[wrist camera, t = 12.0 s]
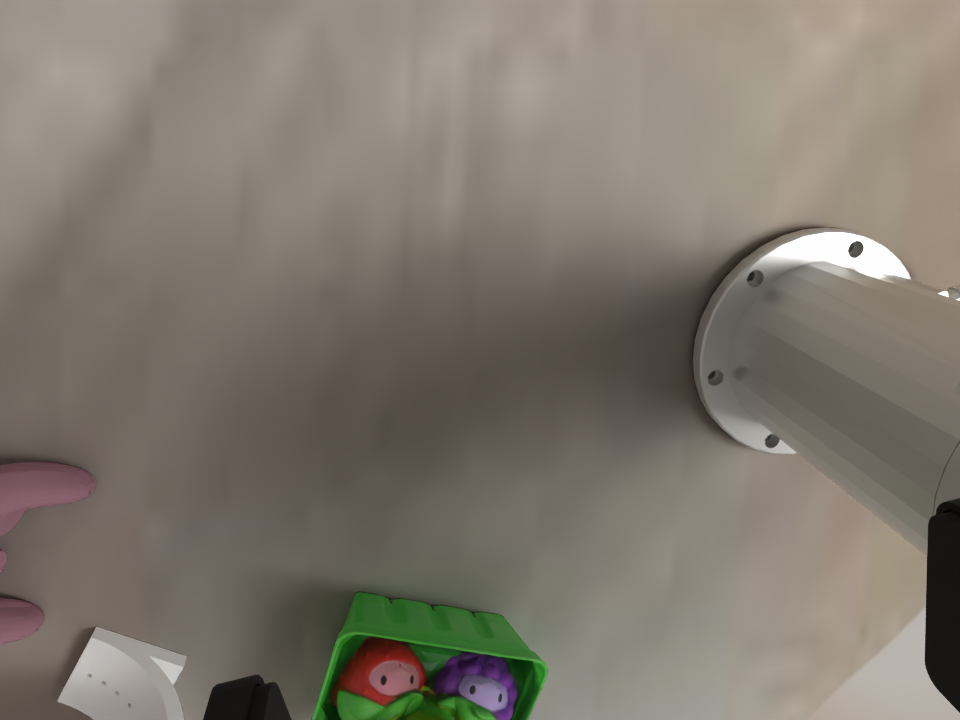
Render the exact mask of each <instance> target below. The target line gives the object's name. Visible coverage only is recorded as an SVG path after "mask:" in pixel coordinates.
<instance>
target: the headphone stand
mask: <svg viewBox="0 0 960 720" xmlns="http://www.w3.org/2000/svg"><path fill="white" fill-rule="evenodd" d="M186 658H187V656H185V655H182V654H178V653H175V652H172V651H169V650H166V649H163V648H160V647H157V646H154V645H151V644H148V643H145V642H142V641H139V640H136V639H133V638H130V637H127V636H124V635H121V634H118V633H114V632H111V631H108V630H105V629H102V628H99V627H96V628H95V630H94V632H93V634H92V636H91V638H90V639H89V641H88V643H87V645H86V647H85V649H84V651H83V653H82V654H81V656H80V658H79V660H78V662H77V664H76V666H75V668H74V669H73V671H72V673H71V675H70V677H69V679H68V681H67V682H66V684H65V686H64V688H63V690H62V692H61V694H60V696H59V698H58V700H57V702H59V703H62V704H65V705H68V706H70V707H73V708H75V709H77V710H79V711H81V712H82V713H84V714H86V715H88V716H89V717H91V718H92V719H93V720H184V717H183V711H182V707H181V704H180V701H179V698H178V696H177V693H176V691H175V689H174V687H173V685H174V683H175V681H176V680H177V678H178V676H179V674H180V673H181V671H182V669H183V667H184V664H185V661H186Z"/></svg>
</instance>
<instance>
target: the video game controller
mask: <svg viewBox="0 0 960 720" xmlns="http://www.w3.org/2000/svg"><path fill="white" fill-rule="evenodd" d="M95 488H96V482H95V479H94V478H93V476H92V475H91V474H90V473H88V472H87V471H85V470H82V469H80V468H77V467H73V466H70V465H65V464H59V463H50V462H20V463H13V464H5V465H0V536H3V535H5V534H6V533H8V532H9V531H10V530H11V529H13V528H14V527H15V525H16V524H17V523H18V522H19V521H20V519H21V518H22V516H23V514H24V512H25V510H27V509H32V508H37V507H46V506H54V505H62V504H70V503H73V502H76V501H79V500H81V499H84V498H86V497H88V496H89V495H91V494H92V493H93V492H94V490H95ZM6 561H7V554H6V553H5V552H4V551H3V550H1V549H0V573H1V571H2V570H3V568H4V567H5V565H6ZM43 622H44V614H43V612H42V610H41V609H40V607H37V606H36V605H34V604H32V603H29V602H27V601H23V600H17V599H8V598H0V644H4V643H9V642H14V641H18V640H21V639H23V638H25V637H27V636H30V635H32V634H33V633H35V632H36V631H37V630H38V629H39V628H40V627H41V625H42V624H43Z"/></svg>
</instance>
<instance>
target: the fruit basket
mask: <svg viewBox="0 0 960 720" xmlns="http://www.w3.org/2000/svg"><path fill="white" fill-rule="evenodd" d="M547 673H548V668H547V666H546V664H545V663H544V662H543V661H542V660H541V659H540V658H539V656H538V655H537V654H536V653H534V652H533V651H530V649H529V648H528V647H527V646H526V644H525V643H524V642H523V641H522V639H521V638H520V637H519V636H518V634H517V633H516V632H515V631H514V629H513V628H512V627H511V626H510V624H509V623H508V622H507V621H506V619H505V618H504V617H503V616H502V615H497V614H490V613H484V612H479V613H473V614H472V613H471V612H469V611H467V610H465V609H460V608H454V607H448V606H442V605H441V606H433V607H431V606H430V605H428V604H426V603H423V602H417V601H411V600H405V599H392V600H389V599H388V598H385V597H383V596H380V595H375V594H369V593H363V592H358V593H357V594H356V595H355V596H354V599H353V601H352V604H351V607H350V610H349V613H348V616H347V618H346V621H345V624H344V627H343V629H342V630H341V631H340V633H339V634H338V637H337V639H336V642H335V645H334V648H333V652H332V655H331V659H330V662H329V666H328V669H327V672H326V675H325V679H324V682H323V685H322V688H321V691H320V694H319V697H318V700H317V703H316V706H315V709H314V712H313V715H312V718H311V720H528V719H529V717H530V714H531V712H532V710H533V708H534V705H535V702H536V700H537V698H538V696H539V694H540V692H541V690H542V687H543V684H544V682H545V679H546V676H547Z"/></svg>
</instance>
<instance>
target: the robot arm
mask: <svg viewBox="0 0 960 720" xmlns="http://www.w3.org/2000/svg"><path fill="white" fill-rule="evenodd" d="M749 274H750V276H749V278H748V275H749ZM693 368H694V379H695V384H696V387H697V390H698V393H699V397H700V400H701V402H702V403H703V405H704V407H705V408H706V410H707V412H708V414H709V415H710V417H711V418H712V419H713V420H714V421H715V422H716V423H717V424H718V425H719V426H720V427H721V428H722V429H723V430H724V431H725V432H726V433H728V434H729V435H730V436H731V437H733V438H734V439H735V440H736V441H738V442H740V443H742V444H744V445H746V446H748V447H750V448H752V449H754V450H758V451H761V452H765V453H769V454H785V455H791V454H799V455H800V456H802V457H803V458H804V459H806V460H807V461H808V462H809V463H811V464H812V465H813V466H814V467H816V468H817V469H818V470H819V471H821V472H822V473H823V474H824V475H826V476H827V477H828V478H829V479H831V480H832V481H833V482H834V483H836V484H837V485H838V486H839V487H841V488H842V489H843V490H844V491H846V492H847V493H848V494H849V495H851V496H852V497H853V498H854V499H856V500H857V501H858V502H859V503H861V504H862V505H863V506H864V507H866V508H867V509H868V510H869V511H871V512H872V513H873V514H874V515H876V516H877V517H878V518H879V519H881V520H882V521H883V522H884V523H886V524H887V525H888V526H889V527H891V528H892V529H893V530H894V531H896V532H897V533H898V534H899V535H901V536H902V537H903V538H904V539H906V540H907V541H908V542H909V543H911V544H912V545H913V546H915V547H916V548H917V549H918V550H920V551H921V552H922V553H923V554H925V555H926V556H927V591H926V635H925V665H926V669H927V672H928V674H929V677H930V679H931V681H932V682H933V684H934V685H935V687H936V688H937V689H938V690H939V691H940V692H941V693H942V694H943V696H944V697H945V698H946V699H947V700H948V701H949V702H950V703H951V704H952V705H953V706H954V707H955V708H956V709H957V710H958V711H959V712H960V285H957V286H953V287H950V288H948V289H947V290H941V289H937V288H934V287H931V286H928V285H925V284H922V283H919V282H916V281H913V280H912V279H911V276H910V274H909V272H908V271H907V269H906V268H905V266H904V265H903V263H902V262H901V261H900V259H899V258H898V257H897V256H896V255H895V254H894V253H893V252H892V251H891V250H889V249H888V248H887V247H886V246H885V245H884V244H882V243H880V242H878V241H876V240H874V239H872V238H870V237H868V236H866V235H863V234H859V233H856V232H852V231H849V230H844V229H836V228H828V227H823V228H811V229H803V230H800V231H796V232H793V233H789V234H786V235H782V236H780V237H778V238H776V239H774V240H772V241H770V242H768V243H766V244H764V245H762V246H761V247H759V248H758V249H757V250H755V251H754V252H752V253H751V254H750V255H748V256H747V257H746V258H744V259H743V260H742V261H741V262H740V263H739V264H738V265H737V266H736V267H735V268H734V269H733V270H732V271H731V272H730V273H729V274H728V275H727V276H726V277H725V278H724V280H723V281H722V283H721V284H720V285H719V287H718V288H717V290H716V291H715V292H714V294H713V295H712V297H711V299H710V301H709V303H708V305H707V307H706V309H705V311H704V313H703V315H702V317H701V320H700V324H699V327H698V331H697V334H696V338H695V344H694V354H693ZM710 373H711V374H710ZM709 374H710V375H709ZM203 720H291V718H290V715H289V712H288V710H287V707H286V705H285V702H284V699H283V697H282V694H281V691H280V689H279V687H278V685H277V684H276V683H275V682H272V683H268V684H265V683H264V681H263V679H262V678H261V677H260V676H259V675H253V676H249V677H245V678H241V679H237V680H233V681H229V682H225V683H221V684H217V685H216V686H215V687H214V688H213V690H212V692H211V694H210V698H209V701H208V705H207V708H206V712H205V715H204V719H203Z"/></svg>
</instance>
